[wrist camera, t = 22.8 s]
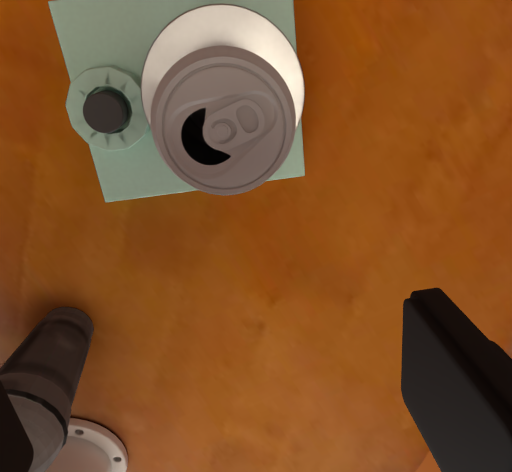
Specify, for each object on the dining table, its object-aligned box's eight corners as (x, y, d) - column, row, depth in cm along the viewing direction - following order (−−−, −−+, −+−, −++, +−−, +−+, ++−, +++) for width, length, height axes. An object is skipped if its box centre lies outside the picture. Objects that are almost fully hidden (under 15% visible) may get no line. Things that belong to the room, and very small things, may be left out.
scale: (106, 197, 34) (96, 210, 31) (51, 3, 28) (33, -1, 25) (302, 171, 34) (308, 181, 32) (288, -26, 28) (295, -34, 26)
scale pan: (161, 182, 31) (159, 185, 30) (124, 15, 26) (121, 15, 25) (307, 162, 31) (309, 165, 30) (297, -6, 26) (299, -8, 26)
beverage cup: (43, 362, 40) (-101, 620, 22) (15, 301, 37) (-180, 540, 19) (117, 350, 41) (33, 597, 22) (95, 288, 37) (-24, 514, 19)
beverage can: (156, 74, 27) (112, 94, 16) (244, 27, 26) (261, 13, 15) (204, 160, 30) (193, 228, 19) (285, 119, 29) (324, 164, 18)
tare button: (96, 131, 29) (88, 135, 28) (85, 92, 28) (77, 95, 27) (132, 126, 29) (127, 130, 28) (123, 87, 28) (117, 90, 27)
